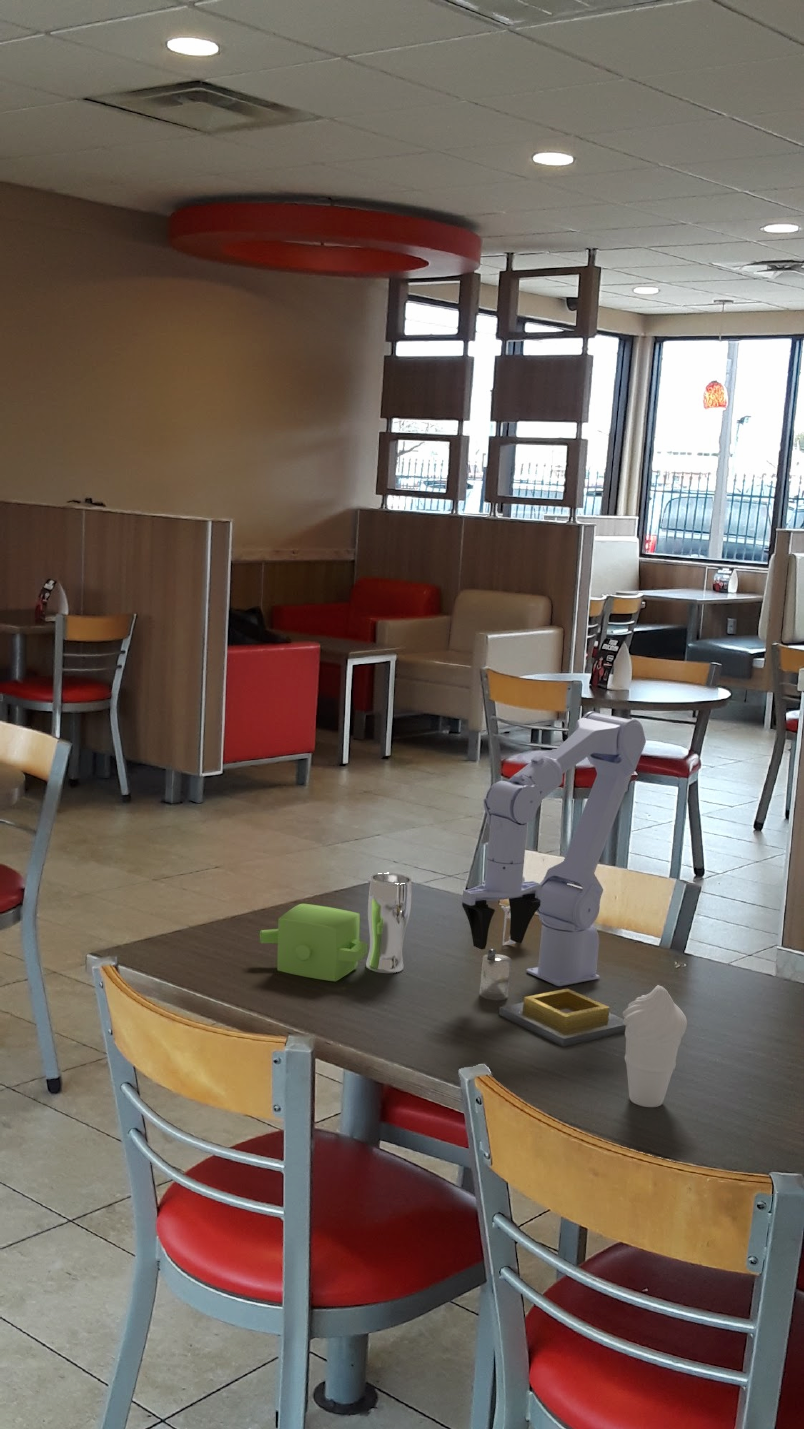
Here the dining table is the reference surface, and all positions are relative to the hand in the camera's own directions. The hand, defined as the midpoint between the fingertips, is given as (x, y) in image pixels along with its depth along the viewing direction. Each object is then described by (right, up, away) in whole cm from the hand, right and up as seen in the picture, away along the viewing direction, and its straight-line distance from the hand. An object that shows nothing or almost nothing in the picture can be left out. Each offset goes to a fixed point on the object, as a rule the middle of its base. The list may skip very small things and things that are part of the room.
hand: (497, 944), depth 221 cm
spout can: (-1, -8, +1) cm, 8 cm away
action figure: (+5, -5, +29) cm, 30 cm away
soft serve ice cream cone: (+17, -15, -35) cm, 42 cm away
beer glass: (-18, -6, +11) cm, 21 cm away
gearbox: (-30, -5, +6) cm, 31 cm away
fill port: (+9, -10, -9) cm, 16 cm away
